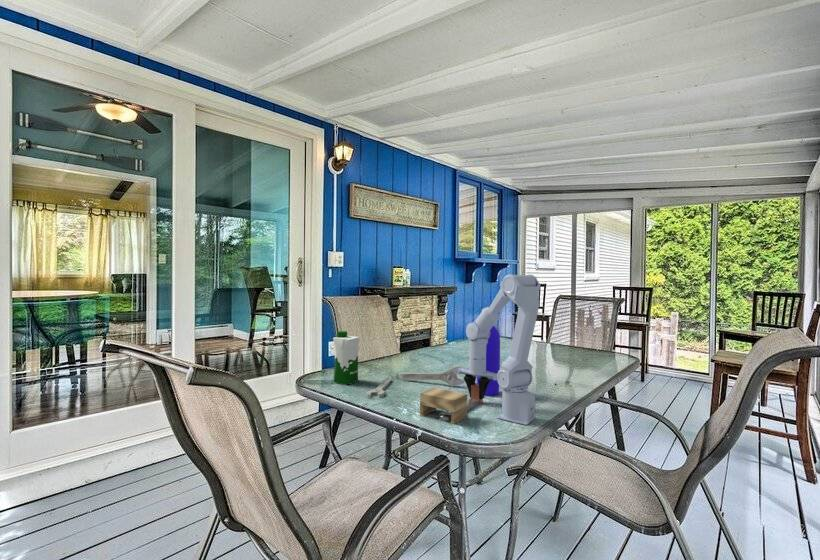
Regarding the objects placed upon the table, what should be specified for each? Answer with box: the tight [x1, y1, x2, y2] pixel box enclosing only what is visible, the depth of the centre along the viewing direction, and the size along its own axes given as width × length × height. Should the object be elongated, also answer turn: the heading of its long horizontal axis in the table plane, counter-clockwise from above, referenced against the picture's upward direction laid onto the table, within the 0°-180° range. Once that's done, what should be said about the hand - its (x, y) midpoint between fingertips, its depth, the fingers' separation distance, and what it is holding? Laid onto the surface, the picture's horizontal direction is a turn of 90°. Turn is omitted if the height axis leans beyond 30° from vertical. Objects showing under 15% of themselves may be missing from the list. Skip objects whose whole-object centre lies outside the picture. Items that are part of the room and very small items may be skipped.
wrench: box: [395, 365, 465, 388], centre depth 168 cm, size 8×2×30 cm
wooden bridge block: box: [419, 387, 468, 425], centre depth 130 cm, size 12×8×7 cm, turn 55°
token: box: [438, 411, 451, 423], centre depth 128 cm, size 4×4×2 cm
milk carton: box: [332, 330, 361, 385], centre depth 169 cm, size 9×9×20 cm
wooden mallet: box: [467, 382, 484, 411], centre depth 139 cm, size 3×17×6 cm, turn 145°
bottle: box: [476, 324, 501, 397], centre depth 156 cm, size 8×8×30 cm
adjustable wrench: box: [365, 377, 393, 399], centre depth 160 cm, size 25×6×2 cm, turn 165°
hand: (476, 397), depth 144 cm, fingers closed on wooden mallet, 3 cm apart
